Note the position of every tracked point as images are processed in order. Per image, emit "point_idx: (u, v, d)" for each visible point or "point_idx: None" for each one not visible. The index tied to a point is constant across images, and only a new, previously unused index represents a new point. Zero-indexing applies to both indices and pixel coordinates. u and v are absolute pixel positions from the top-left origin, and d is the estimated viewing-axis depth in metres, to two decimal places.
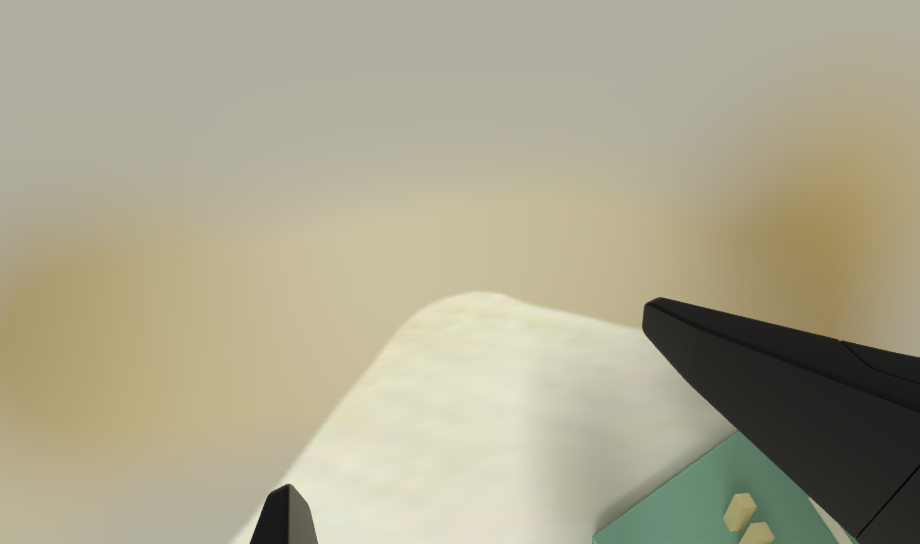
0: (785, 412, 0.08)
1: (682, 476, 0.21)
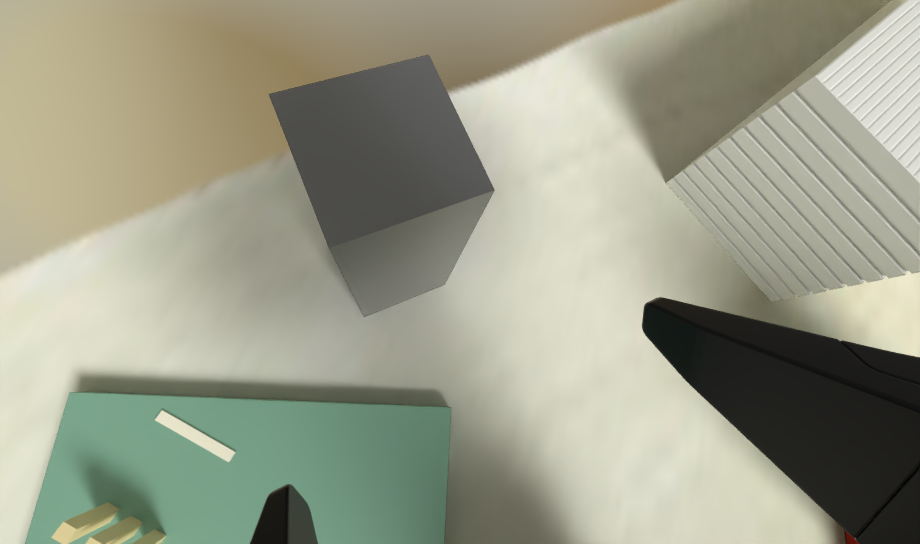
0: (785, 412, 0.08)
1: (38, 514, 0.17)
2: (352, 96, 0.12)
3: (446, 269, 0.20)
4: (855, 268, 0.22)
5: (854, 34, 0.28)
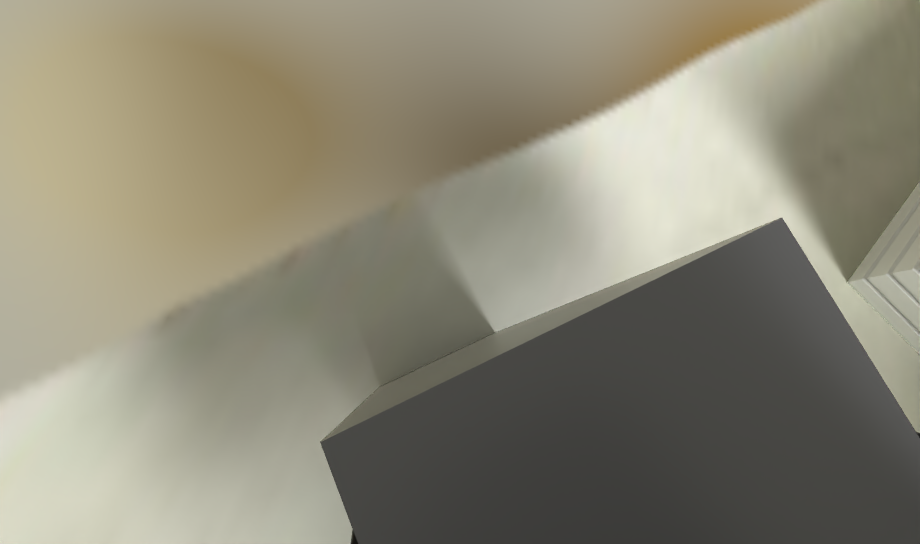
0: None
1: None
2: (603, 404, 0.03)
3: None
4: None
5: None
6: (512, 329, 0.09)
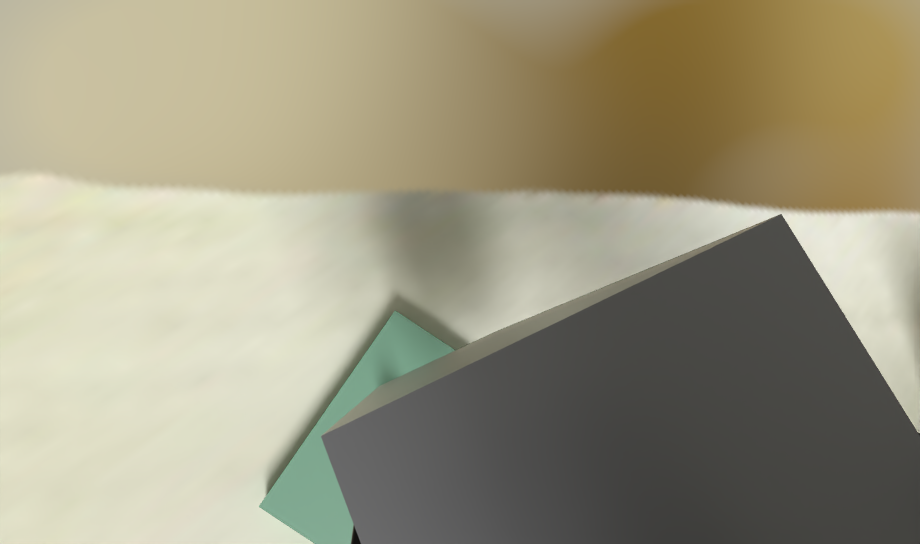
0: None
1: (340, 394, 0.20)
2: (603, 399, 0.03)
3: None
4: None
5: None
6: (512, 327, 0.09)
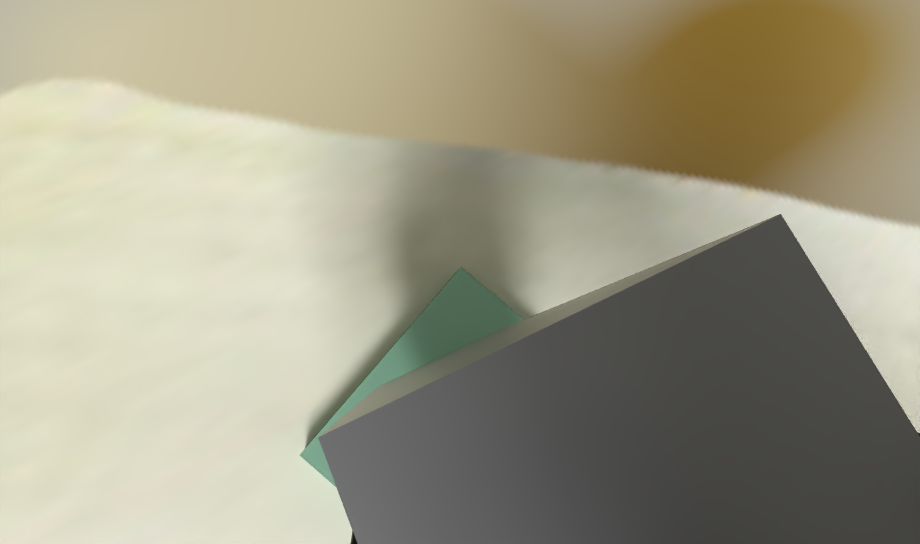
0: None
1: (396, 348, 0.19)
2: (602, 399, 0.03)
3: None
4: None
5: None
6: (511, 327, 0.09)
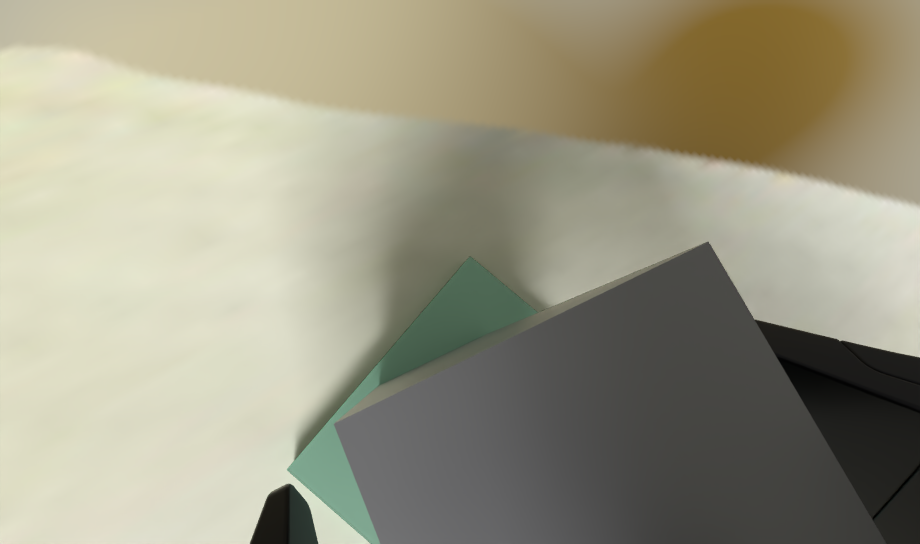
0: None
1: (398, 347, 0.16)
2: (555, 394, 0.04)
3: None
4: None
5: None
6: None
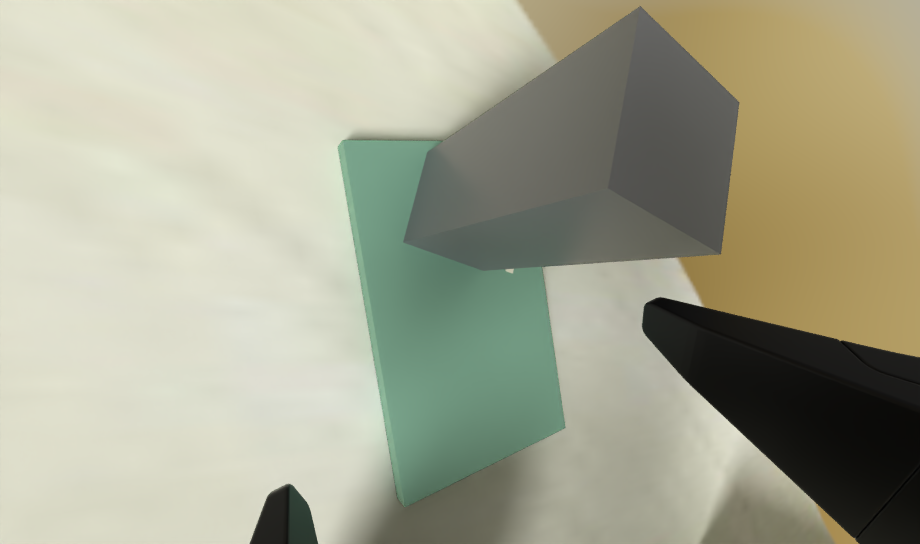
0: (785, 412, 0.08)
1: None
2: (685, 77, 0.11)
3: (522, 264, 0.19)
4: None
5: None
6: None
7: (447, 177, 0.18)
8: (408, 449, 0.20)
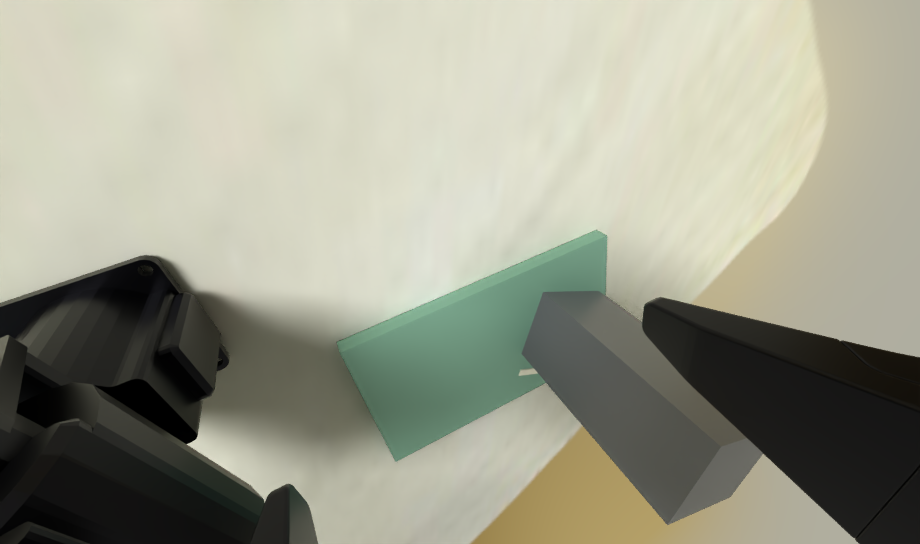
0: (785, 412, 0.08)
1: None
2: (750, 462, 0.19)
3: (557, 388, 0.25)
4: None
5: None
6: None
7: (609, 318, 0.24)
8: (390, 341, 0.23)
